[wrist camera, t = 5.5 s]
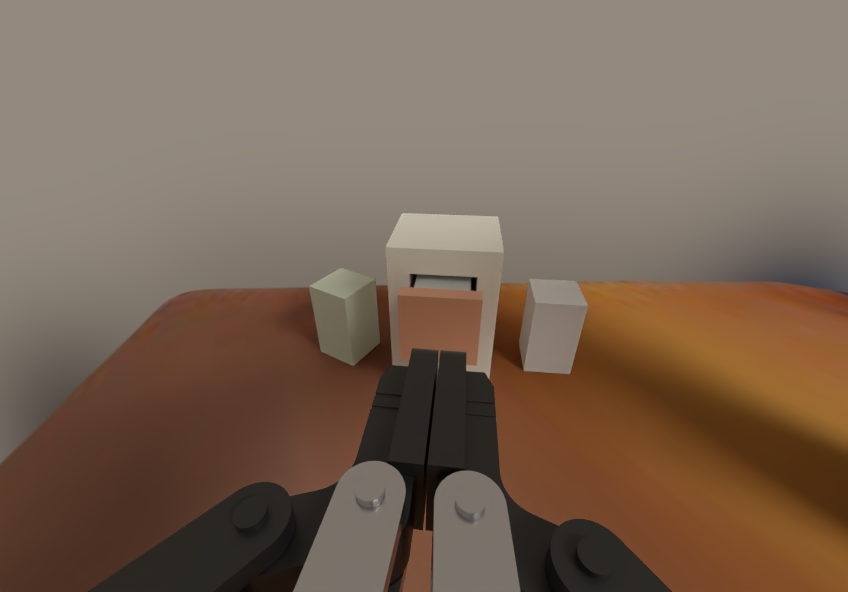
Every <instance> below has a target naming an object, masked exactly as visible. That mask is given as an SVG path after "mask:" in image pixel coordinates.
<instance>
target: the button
mask: <svg viewBox="0 0 848 592" xmlns="http://www.w3.org/2000/svg"><path fill="white" fill-rule="evenodd" d="M482 303H483V293H482V291H471V277H463V276H443V275H424V274H417V278H416V281H415V285H414V288H412V287H400V289H399V292H398V316H399V339H400V360H406V361H409V360H410V355H411V351H412V348H419V349H432V350H438V363H439V358H440V350H446V351H459V352H466V354H467V355H466V365H474V366H477V357H478V346H479V335H480V325H481V314H482Z"/></svg>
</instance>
